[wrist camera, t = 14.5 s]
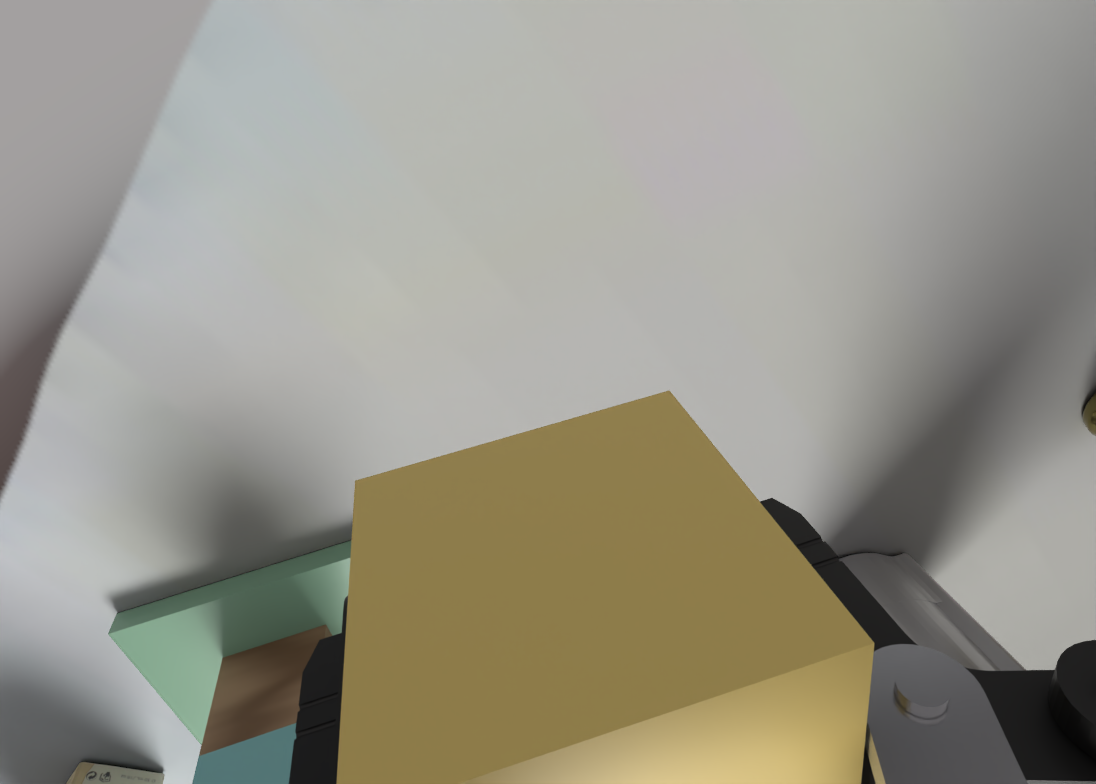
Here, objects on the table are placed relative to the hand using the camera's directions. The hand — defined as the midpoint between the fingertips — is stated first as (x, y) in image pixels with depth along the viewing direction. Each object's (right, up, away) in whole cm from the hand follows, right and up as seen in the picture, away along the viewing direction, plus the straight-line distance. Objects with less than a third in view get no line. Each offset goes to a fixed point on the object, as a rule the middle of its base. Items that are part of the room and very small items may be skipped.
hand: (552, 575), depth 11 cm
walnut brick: (-13, -11, +22) cm, 28 cm away
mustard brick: (0, 0, 0) cm, 1 cm away
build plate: (-13, -10, +23) cm, 28 cm away
